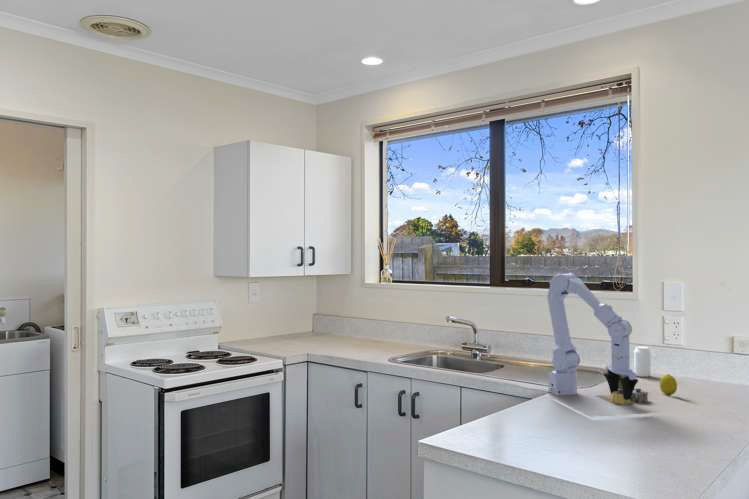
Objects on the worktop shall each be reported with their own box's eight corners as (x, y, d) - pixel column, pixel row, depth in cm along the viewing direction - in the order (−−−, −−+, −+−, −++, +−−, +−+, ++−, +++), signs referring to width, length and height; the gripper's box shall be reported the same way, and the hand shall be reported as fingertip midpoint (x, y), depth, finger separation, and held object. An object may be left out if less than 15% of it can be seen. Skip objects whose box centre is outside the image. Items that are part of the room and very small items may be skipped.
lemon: (673, 394, 216) (673, 372, 216) (679, 398, 210) (679, 375, 210) (657, 394, 216) (657, 372, 216) (663, 398, 211) (663, 375, 211)
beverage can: (633, 374, 251) (633, 345, 251) (649, 375, 249) (649, 346, 249) (635, 377, 245) (634, 348, 245) (651, 378, 243) (651, 348, 243)
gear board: (616, 408, 198) (616, 393, 198) (595, 398, 211) (595, 384, 211) (653, 405, 201) (653, 390, 201) (629, 396, 214) (629, 382, 214)
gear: (618, 404, 199) (618, 395, 199) (609, 400, 205) (609, 391, 205) (633, 403, 200) (633, 394, 200) (623, 399, 206) (623, 390, 206)
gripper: (644, 359, 196) (644, 401, 196) (618, 352, 210) (618, 390, 210) (625, 360, 195) (625, 402, 195) (600, 353, 209) (600, 392, 209)
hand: (620, 396), depth 203 cm, fingers open, 7 cm apart
